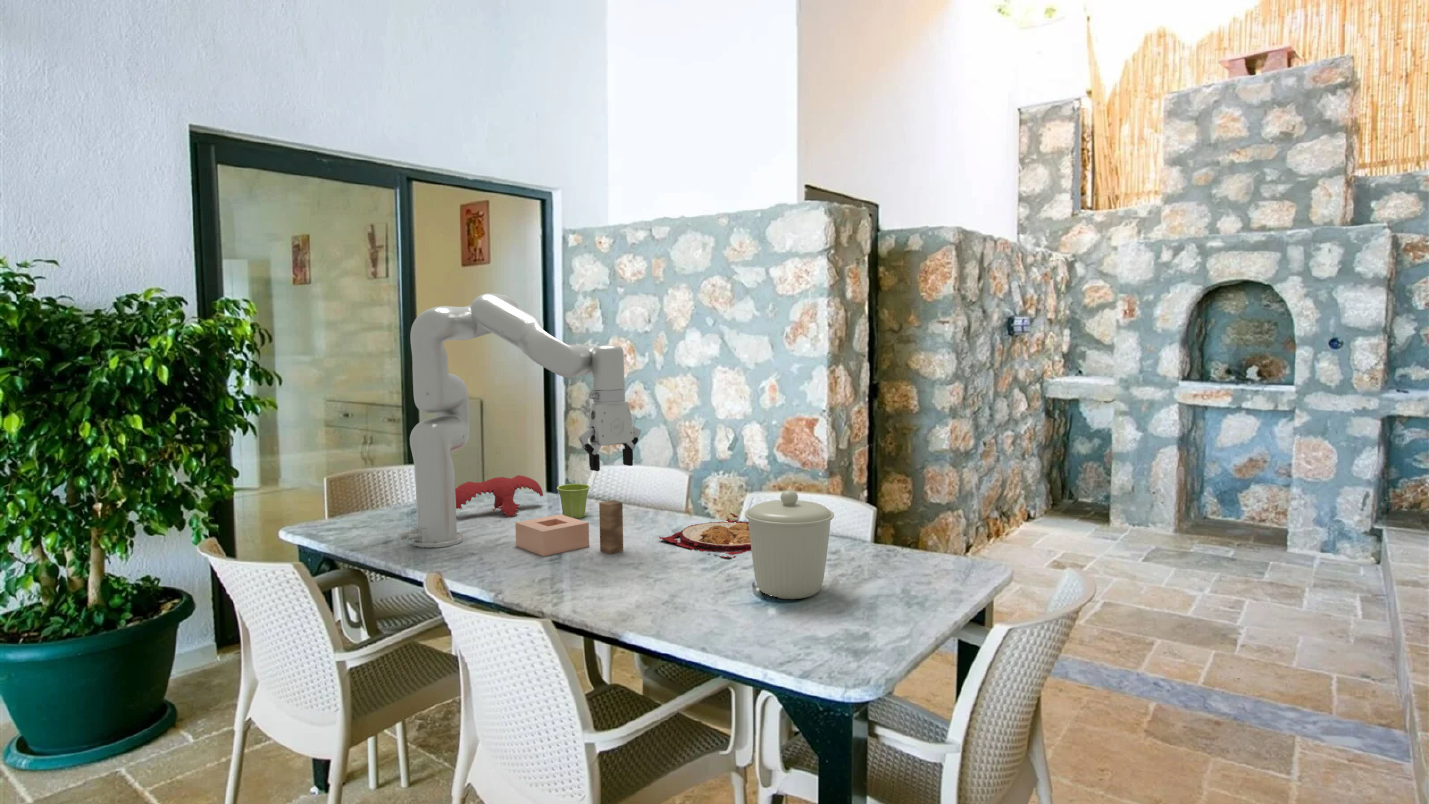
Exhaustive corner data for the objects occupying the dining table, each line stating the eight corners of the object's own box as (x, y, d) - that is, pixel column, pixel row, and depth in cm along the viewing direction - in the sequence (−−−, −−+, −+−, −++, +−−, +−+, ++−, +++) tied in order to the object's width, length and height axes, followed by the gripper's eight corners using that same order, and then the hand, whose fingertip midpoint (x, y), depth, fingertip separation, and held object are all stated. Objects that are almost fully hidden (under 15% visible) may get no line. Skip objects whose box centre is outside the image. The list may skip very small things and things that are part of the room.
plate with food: (657, 544, 214) (657, 530, 214) (729, 523, 233) (729, 511, 233) (728, 564, 197) (727, 550, 197) (799, 540, 216) (799, 527, 216)
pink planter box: (543, 556, 201) (542, 531, 200) (516, 546, 211) (515, 522, 210) (589, 546, 210) (588, 522, 209) (560, 536, 219) (560, 514, 219)
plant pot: (597, 515, 244) (596, 485, 243) (575, 521, 236) (574, 491, 235) (572, 511, 249) (572, 482, 248) (550, 518, 241) (550, 488, 240)
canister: (762, 610, 162) (762, 502, 160) (733, 583, 179) (733, 485, 177) (848, 601, 167) (849, 496, 165) (812, 575, 184) (813, 480, 182)
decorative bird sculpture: (548, 521, 255) (531, 481, 262) (559, 504, 250) (541, 463, 256) (458, 537, 237) (443, 493, 244) (467, 519, 232) (451, 474, 238)
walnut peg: (609, 554, 202) (608, 505, 201) (600, 551, 205) (599, 502, 204) (623, 551, 205) (622, 502, 204) (613, 548, 208) (612, 500, 207)
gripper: (587, 400, 193) (590, 474, 195) (647, 395, 205) (649, 464, 206) (569, 399, 199) (572, 470, 200) (629, 393, 210) (631, 461, 212)
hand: (611, 467), depth 203 cm, fingers open, 9 cm apart
